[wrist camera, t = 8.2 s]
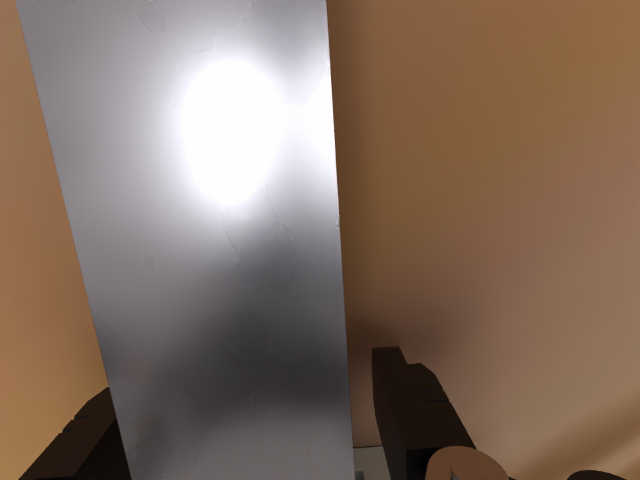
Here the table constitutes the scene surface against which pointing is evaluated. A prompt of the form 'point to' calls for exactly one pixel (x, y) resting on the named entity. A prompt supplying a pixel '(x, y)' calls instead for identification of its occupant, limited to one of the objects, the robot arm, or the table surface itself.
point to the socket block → (370, 464)
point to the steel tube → (205, 226)
